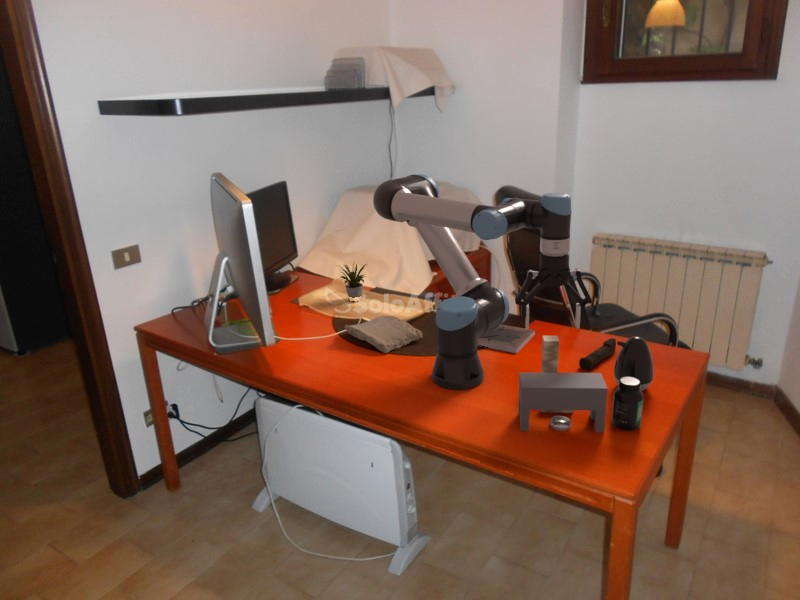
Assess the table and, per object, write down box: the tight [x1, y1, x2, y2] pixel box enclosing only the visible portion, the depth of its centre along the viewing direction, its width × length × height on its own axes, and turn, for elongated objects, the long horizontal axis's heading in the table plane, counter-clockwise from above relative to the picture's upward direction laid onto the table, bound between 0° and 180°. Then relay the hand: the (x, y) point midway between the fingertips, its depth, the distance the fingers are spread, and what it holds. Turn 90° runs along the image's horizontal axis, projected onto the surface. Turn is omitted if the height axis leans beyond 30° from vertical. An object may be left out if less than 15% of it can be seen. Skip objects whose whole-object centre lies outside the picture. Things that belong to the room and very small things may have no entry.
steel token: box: [549, 415, 572, 432], centre depth 149 cm, size 5×5×2 cm
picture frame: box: [477, 324, 536, 354], centre depth 201 cm, size 16×2×22 cm
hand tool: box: [578, 337, 617, 371], centre depth 182 cm, size 19×4×5 cm, turn 132°
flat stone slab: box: [344, 315, 424, 354], centre depth 205 cm, size 24×8×20 cm
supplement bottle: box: [611, 377, 644, 432], centre depth 146 cm, size 7×7×12 cm
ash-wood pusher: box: [540, 335, 574, 414], centre depth 162 cm, size 8×20×14 cm, turn 174°
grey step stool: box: [517, 371, 609, 433], centre depth 148 cm, size 20×8×12 cm, turn 84°
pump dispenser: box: [613, 335, 655, 392], centre depth 163 cm, size 10×10×15 cm
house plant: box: [336, 261, 368, 298], centre depth 241 cm, size 14×14×16 cm
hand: (552, 327), depth 165 cm, fingers open, 13 cm apart
